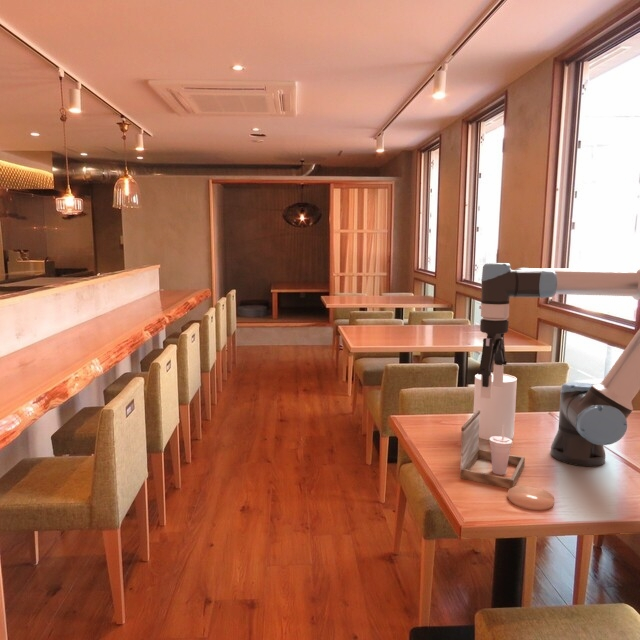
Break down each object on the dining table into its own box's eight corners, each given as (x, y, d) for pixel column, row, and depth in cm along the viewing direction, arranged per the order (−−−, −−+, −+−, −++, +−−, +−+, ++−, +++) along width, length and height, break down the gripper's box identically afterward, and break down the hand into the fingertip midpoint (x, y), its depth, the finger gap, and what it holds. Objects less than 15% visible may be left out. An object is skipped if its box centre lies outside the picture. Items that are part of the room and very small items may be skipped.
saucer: (556, 496, 139) (556, 491, 139) (550, 514, 130) (551, 509, 130) (512, 486, 145) (512, 482, 145) (503, 503, 135) (504, 499, 135)
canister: (508, 443, 176) (511, 384, 173) (467, 436, 183) (470, 378, 180) (517, 431, 187) (520, 375, 185) (478, 424, 194) (481, 370, 192)
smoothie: (512, 477, 150) (515, 429, 148) (488, 475, 152) (490, 428, 150) (509, 468, 157) (511, 422, 155) (486, 466, 158) (488, 420, 156)
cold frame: (524, 465, 159) (527, 417, 157) (512, 489, 143) (515, 436, 141) (471, 454, 167) (473, 409, 164) (454, 476, 151) (456, 426, 149)
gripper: (492, 312, 163) (489, 380, 166) (468, 323, 142) (466, 400, 145) (517, 314, 159) (515, 383, 162) (497, 325, 138) (494, 404, 141)
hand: (492, 392), depth 154 cm, fingers open, 13 cm apart
